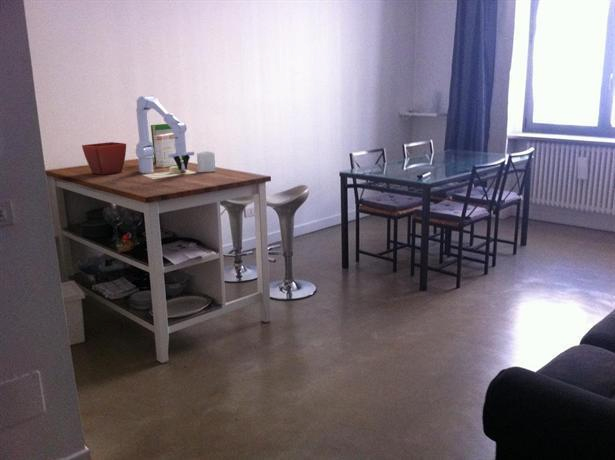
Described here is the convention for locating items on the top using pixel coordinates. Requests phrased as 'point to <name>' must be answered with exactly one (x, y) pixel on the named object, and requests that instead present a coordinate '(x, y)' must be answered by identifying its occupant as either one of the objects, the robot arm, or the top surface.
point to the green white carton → (160, 130)
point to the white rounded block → (206, 161)
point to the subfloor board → (166, 174)
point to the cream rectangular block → (174, 170)
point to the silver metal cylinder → (182, 167)
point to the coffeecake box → (164, 149)
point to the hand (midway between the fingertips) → (182, 169)
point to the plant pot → (105, 157)
